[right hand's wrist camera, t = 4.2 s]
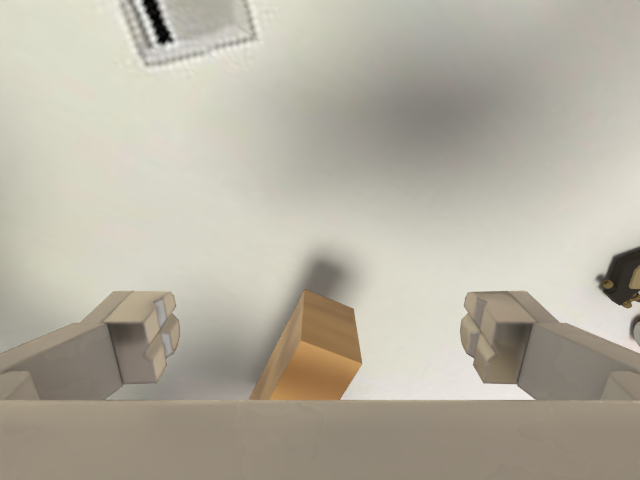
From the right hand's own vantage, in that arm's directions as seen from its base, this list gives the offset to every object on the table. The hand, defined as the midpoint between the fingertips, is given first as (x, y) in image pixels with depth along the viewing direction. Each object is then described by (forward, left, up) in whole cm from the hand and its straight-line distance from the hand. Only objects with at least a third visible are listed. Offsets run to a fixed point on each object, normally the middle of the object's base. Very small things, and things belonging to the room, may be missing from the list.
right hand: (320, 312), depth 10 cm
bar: (+20, +12, -22) cm, 32 cm away
